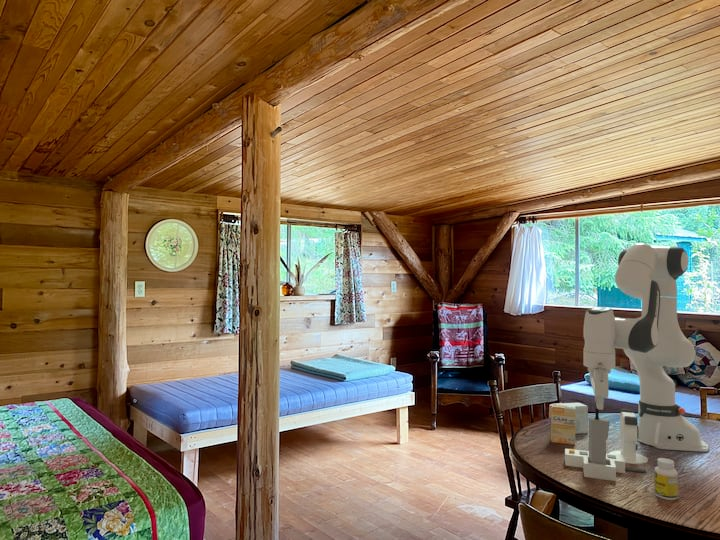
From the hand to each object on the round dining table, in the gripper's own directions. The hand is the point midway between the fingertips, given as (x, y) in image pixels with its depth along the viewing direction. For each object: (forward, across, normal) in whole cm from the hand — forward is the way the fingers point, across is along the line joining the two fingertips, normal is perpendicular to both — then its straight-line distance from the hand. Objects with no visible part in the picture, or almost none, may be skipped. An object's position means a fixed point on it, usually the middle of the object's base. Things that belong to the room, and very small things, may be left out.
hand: (599, 406), depth 155 cm
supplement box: (+21, +28, +10) cm, 36 cm away
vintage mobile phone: (+21, 0, 0) cm, 21 cm away
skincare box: (+21, +43, +7) cm, 48 cm away
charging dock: (+21, +3, -2) cm, 21 cm away
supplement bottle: (+21, -10, -16) cm, 28 cm away
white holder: (+21, +19, -10) cm, 30 cm away
